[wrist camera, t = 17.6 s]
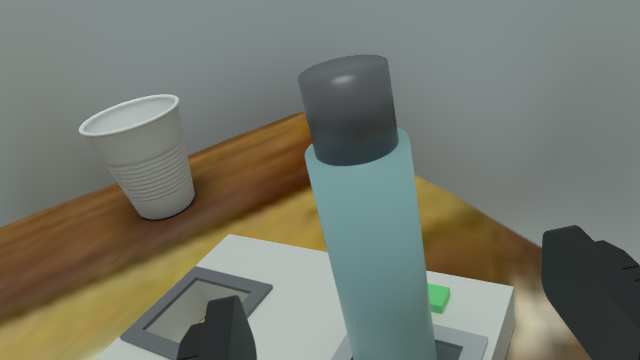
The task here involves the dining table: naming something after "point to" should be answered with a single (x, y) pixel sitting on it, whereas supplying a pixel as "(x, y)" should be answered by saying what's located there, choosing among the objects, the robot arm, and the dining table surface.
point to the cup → (145, 153)
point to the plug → (368, 208)
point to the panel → (308, 308)
